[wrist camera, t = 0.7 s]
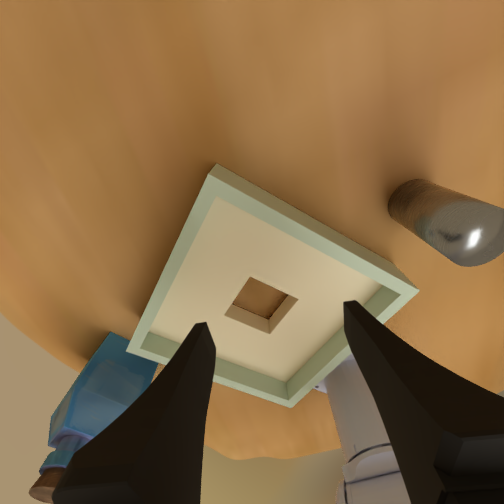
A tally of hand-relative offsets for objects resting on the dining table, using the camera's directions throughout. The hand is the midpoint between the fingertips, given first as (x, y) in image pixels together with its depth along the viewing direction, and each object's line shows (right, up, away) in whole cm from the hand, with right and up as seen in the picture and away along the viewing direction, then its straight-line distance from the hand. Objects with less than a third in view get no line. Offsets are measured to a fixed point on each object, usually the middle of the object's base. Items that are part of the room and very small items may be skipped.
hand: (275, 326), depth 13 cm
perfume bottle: (-16, -8, +16) cm, 24 cm away
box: (-1, 0, +11) cm, 11 cm away
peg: (+12, +8, +7) cm, 16 cm away
